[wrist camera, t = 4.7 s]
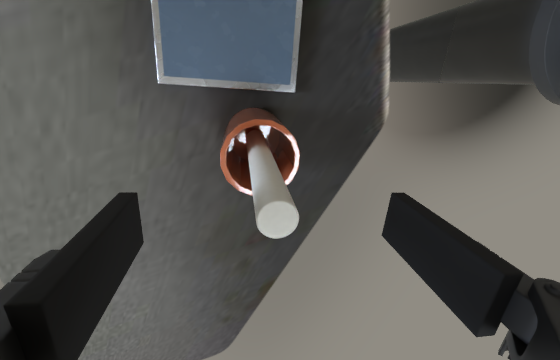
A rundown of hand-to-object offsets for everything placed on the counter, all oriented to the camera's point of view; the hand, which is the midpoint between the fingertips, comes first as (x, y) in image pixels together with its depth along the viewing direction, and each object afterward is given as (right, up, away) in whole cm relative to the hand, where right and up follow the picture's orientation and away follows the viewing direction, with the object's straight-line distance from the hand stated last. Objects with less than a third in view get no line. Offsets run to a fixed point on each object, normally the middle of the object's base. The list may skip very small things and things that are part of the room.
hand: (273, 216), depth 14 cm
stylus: (-3, +7, +18) cm, 20 cm away
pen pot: (-3, +7, +19) cm, 20 cm away
